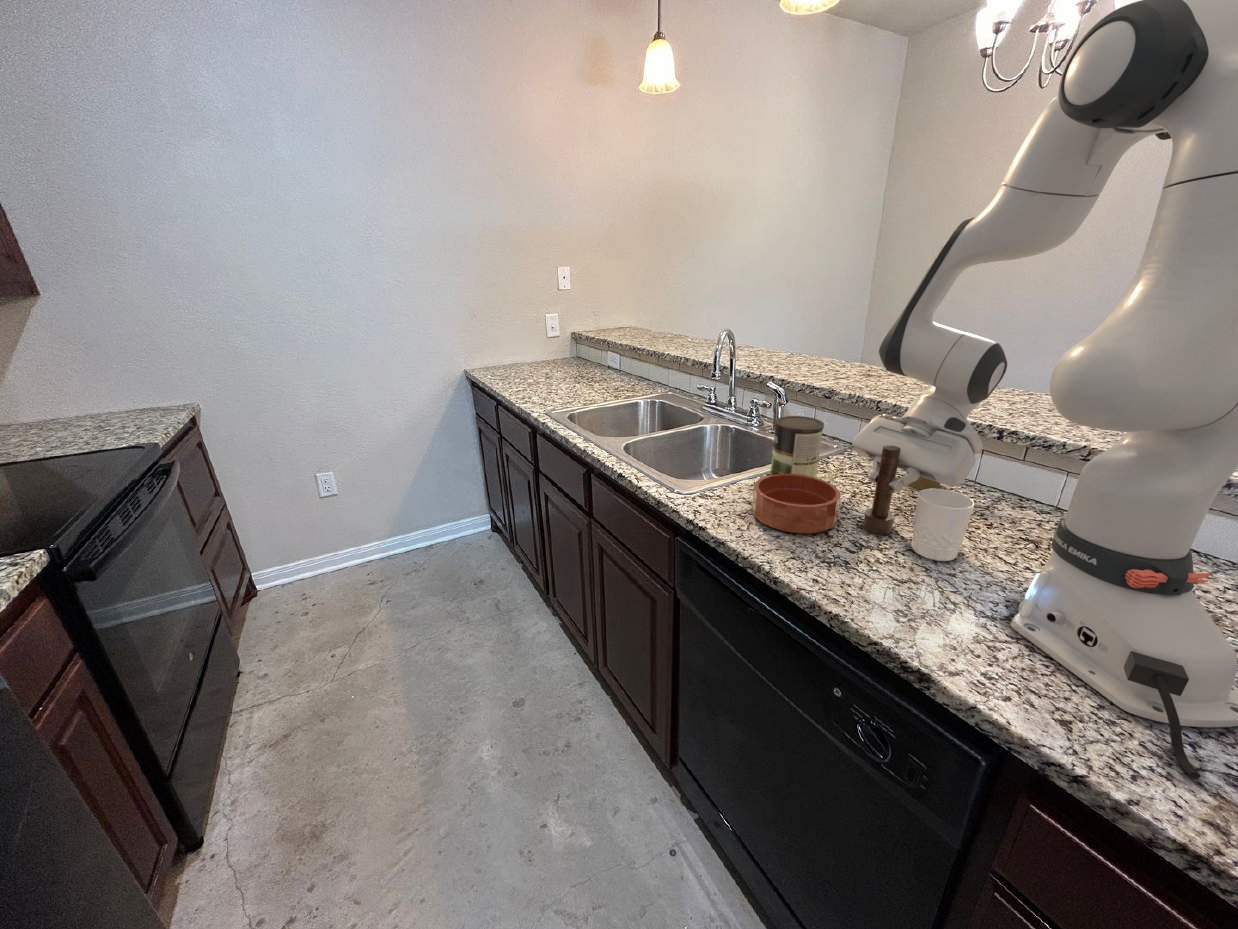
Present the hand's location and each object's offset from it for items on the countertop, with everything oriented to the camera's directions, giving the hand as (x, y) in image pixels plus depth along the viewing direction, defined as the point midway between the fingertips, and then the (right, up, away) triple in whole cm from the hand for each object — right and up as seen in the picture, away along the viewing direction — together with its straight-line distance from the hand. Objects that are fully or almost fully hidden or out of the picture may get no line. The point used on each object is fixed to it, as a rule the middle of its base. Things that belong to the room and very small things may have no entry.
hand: (882, 485), depth 89 cm
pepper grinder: (+21, -1, +21) cm, 30 cm away
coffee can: (-7, 0, +25) cm, 26 cm away
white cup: (+6, -11, -4) cm, 14 cm away
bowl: (-13, -7, +9) cm, 17 cm away
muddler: (+1, -8, +4) cm, 9 cm away
